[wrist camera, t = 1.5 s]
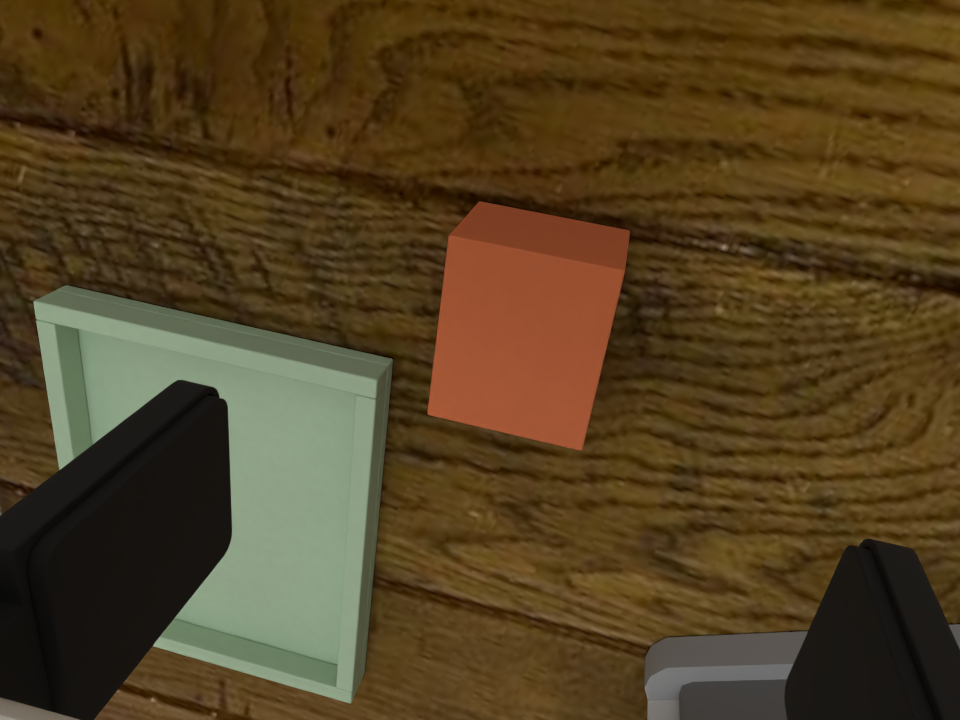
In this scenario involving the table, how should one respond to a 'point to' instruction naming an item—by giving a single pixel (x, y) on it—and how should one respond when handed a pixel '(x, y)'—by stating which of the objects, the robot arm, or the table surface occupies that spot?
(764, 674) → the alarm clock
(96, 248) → the table surface
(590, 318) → the terracotta block
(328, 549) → the sage green tray
